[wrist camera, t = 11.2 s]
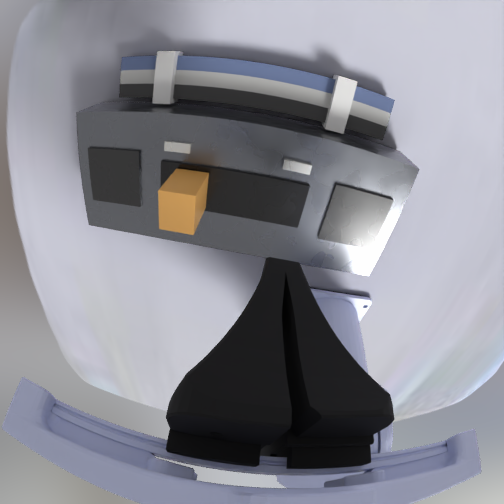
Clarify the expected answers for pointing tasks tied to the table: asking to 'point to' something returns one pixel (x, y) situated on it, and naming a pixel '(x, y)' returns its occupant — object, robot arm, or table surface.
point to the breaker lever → (182, 201)
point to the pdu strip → (245, 181)
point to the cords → (257, 89)
